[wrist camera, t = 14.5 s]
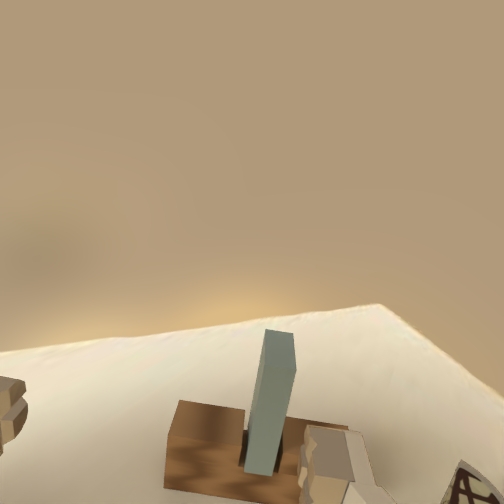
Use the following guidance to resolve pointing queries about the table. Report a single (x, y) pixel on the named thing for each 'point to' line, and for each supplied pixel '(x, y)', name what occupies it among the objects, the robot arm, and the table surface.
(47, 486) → the table surface
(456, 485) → the food container
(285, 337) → the sage green pillar
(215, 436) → the notched wooden block
